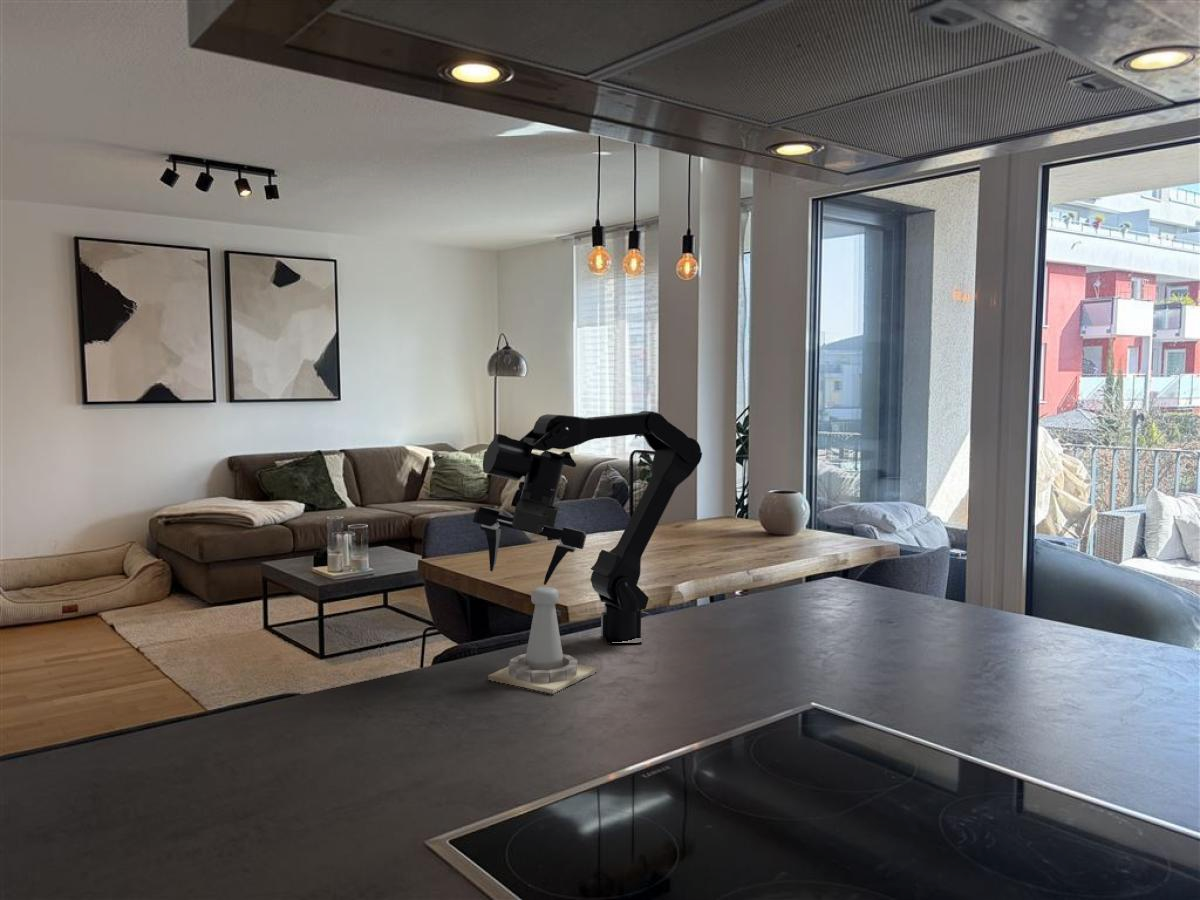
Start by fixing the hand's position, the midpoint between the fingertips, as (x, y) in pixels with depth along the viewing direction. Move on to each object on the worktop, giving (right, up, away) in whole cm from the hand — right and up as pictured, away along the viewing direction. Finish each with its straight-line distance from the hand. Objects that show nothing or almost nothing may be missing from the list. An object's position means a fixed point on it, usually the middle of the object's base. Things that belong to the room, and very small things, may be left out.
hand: (518, 577), depth 146 cm
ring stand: (+5, -14, -11) cm, 18 cm away
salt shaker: (+5, -13, -11) cm, 18 cm away
